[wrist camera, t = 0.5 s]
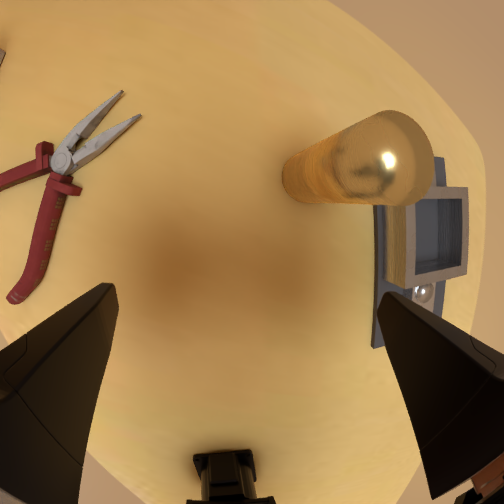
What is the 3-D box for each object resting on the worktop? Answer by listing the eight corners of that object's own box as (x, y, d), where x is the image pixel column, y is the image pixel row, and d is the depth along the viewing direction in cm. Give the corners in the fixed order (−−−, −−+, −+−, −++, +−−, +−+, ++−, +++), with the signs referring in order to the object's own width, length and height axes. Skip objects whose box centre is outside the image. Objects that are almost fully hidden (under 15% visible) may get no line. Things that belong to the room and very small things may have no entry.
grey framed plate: (438, 320, 26) (458, 332, 23) (379, 338, 25) (398, 354, 22) (440, 157, 23) (464, 154, 20) (377, 152, 22) (400, 146, 19)
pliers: (174, 157, 21) (170, 151, 19) (24, 305, 21) (10, 314, 19) (104, 65, 19) (94, 53, 16) (-28, 215, 19) (-43, 217, 16)
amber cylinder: (331, 201, 23) (437, 204, 11) (284, 204, 23) (363, 208, 10) (327, 152, 22) (427, 116, 10) (279, 153, 22) (352, 105, 10)
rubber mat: (436, 326, 27) (439, 328, 26) (371, 346, 26) (373, 348, 25) (440, 158, 24) (444, 157, 23) (369, 153, 23) (372, 152, 22)
